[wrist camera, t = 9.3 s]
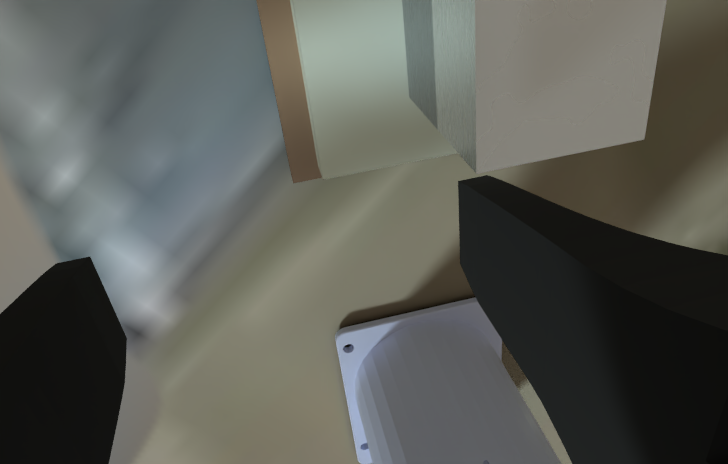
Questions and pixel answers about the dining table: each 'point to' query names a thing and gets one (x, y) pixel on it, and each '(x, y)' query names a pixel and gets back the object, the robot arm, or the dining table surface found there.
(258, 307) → the dining table surface
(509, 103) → the housing
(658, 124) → the dining table surface
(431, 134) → the stand
